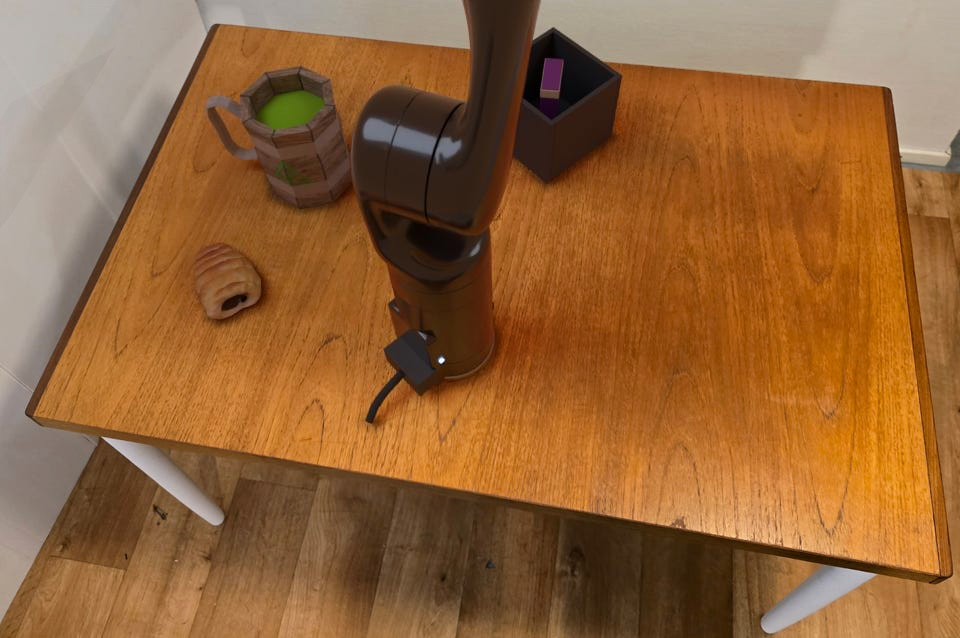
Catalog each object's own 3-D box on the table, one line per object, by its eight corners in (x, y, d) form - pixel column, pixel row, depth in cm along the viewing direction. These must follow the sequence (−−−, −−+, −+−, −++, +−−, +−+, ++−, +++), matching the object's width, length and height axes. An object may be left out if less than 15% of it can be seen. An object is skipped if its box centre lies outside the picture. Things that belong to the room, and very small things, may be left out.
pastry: (185, 265, 85) (172, 246, 81) (240, 240, 86) (230, 220, 83) (213, 327, 81) (201, 309, 77) (271, 300, 82) (262, 281, 79)
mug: (365, 145, 93) (348, 70, 82) (343, 214, 88) (321, 143, 77) (246, 131, 95) (214, 56, 84) (217, 198, 90) (179, 127, 79)
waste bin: (547, 184, 89) (551, 125, 81) (484, 133, 93) (482, 72, 85) (611, 136, 93) (622, 75, 84) (549, 89, 97) (553, 26, 88)
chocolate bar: (537, 144, 91) (540, 88, 83) (541, 114, 94) (545, 57, 86) (554, 146, 91) (559, 90, 83) (558, 115, 93) (563, 58, 86)
